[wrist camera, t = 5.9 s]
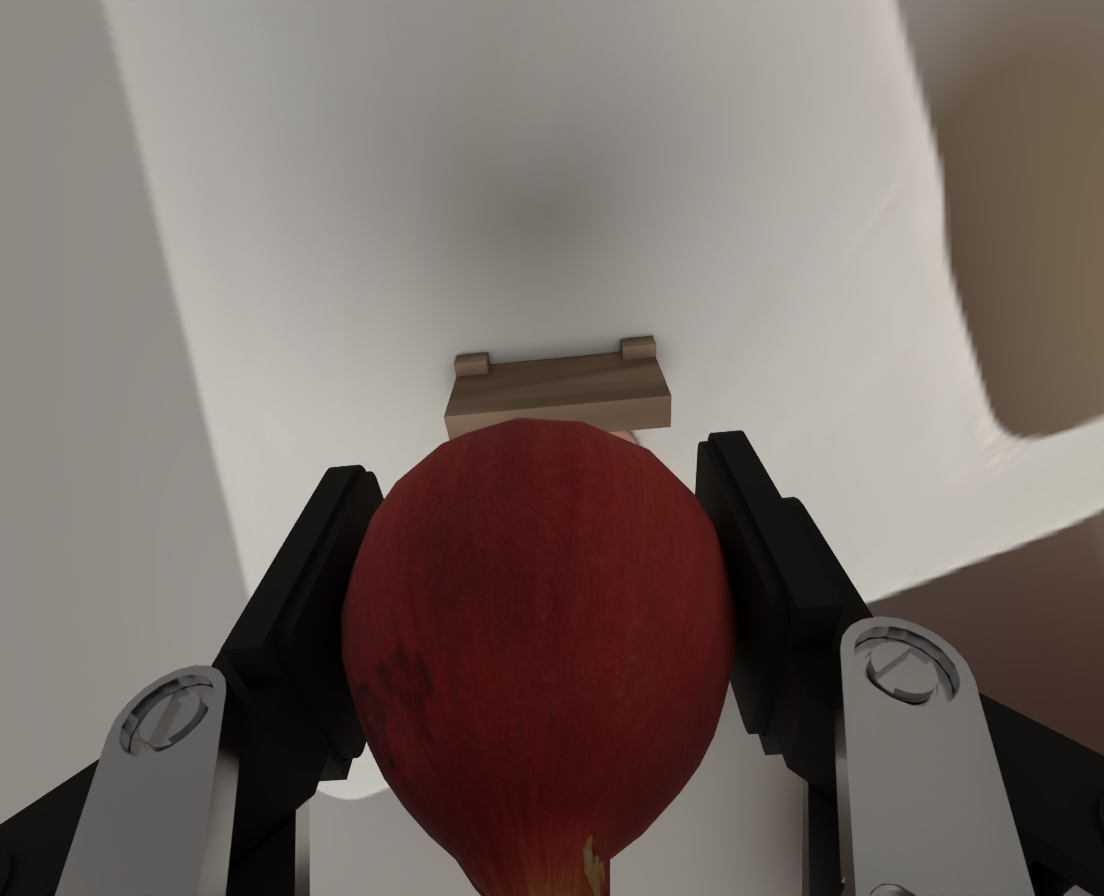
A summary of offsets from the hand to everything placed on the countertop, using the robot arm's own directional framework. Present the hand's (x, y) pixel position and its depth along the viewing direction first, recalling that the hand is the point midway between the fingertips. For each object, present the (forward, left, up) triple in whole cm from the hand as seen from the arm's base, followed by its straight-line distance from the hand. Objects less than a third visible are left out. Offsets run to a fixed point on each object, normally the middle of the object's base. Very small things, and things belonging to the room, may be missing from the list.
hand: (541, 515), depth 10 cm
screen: (+6, 0, -18) cm, 18 cm away
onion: (0, 0, -2) cm, 2 cm away
